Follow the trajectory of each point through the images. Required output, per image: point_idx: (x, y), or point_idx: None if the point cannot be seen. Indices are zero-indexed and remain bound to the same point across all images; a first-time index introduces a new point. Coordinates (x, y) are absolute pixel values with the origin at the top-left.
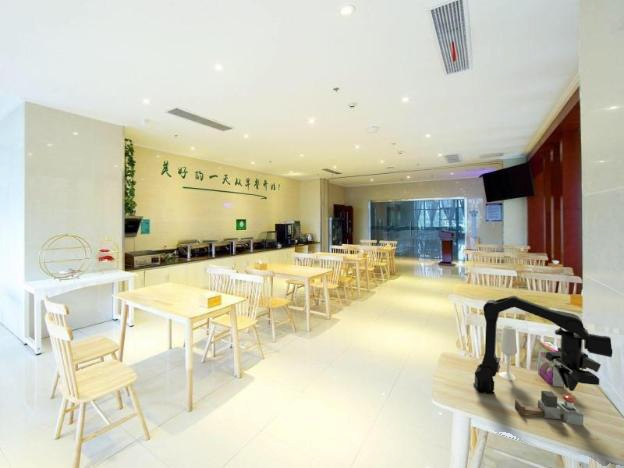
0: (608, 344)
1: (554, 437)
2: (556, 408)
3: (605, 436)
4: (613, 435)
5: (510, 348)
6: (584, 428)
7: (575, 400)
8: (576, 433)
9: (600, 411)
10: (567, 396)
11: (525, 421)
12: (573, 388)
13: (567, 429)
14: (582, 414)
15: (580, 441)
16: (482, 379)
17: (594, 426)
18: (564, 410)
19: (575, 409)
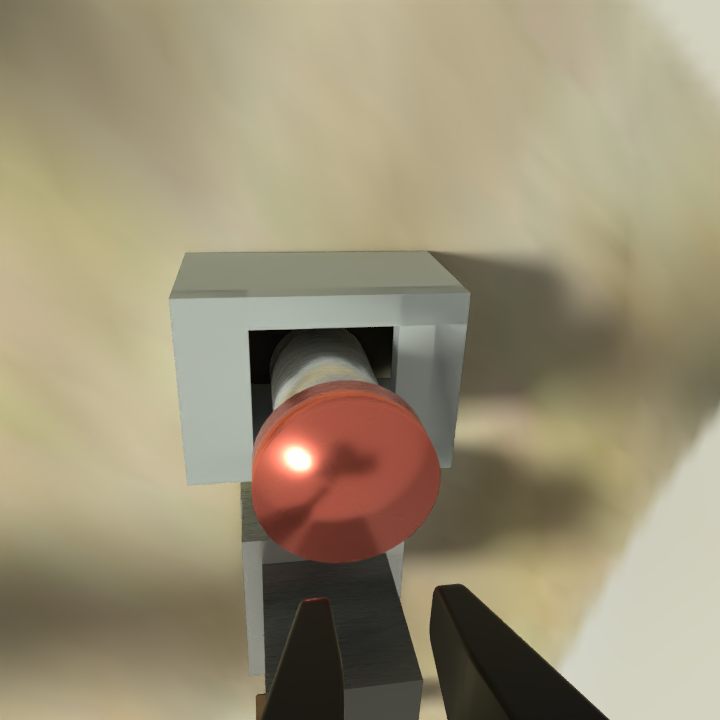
0: None
1: (600, 584)
2: (401, 561)
3: (594, 130)
4: (579, 3)
5: None
6: (478, 273)
7: (412, 415)
8: (554, 401)
9: None
10: (332, 503)
11: (432, 693)
12: (508, 652)
13: (505, 446)
14: (466, 304)
15: (647, 429)
16: None
17: (432, 120)
18: None
19: (358, 325)
